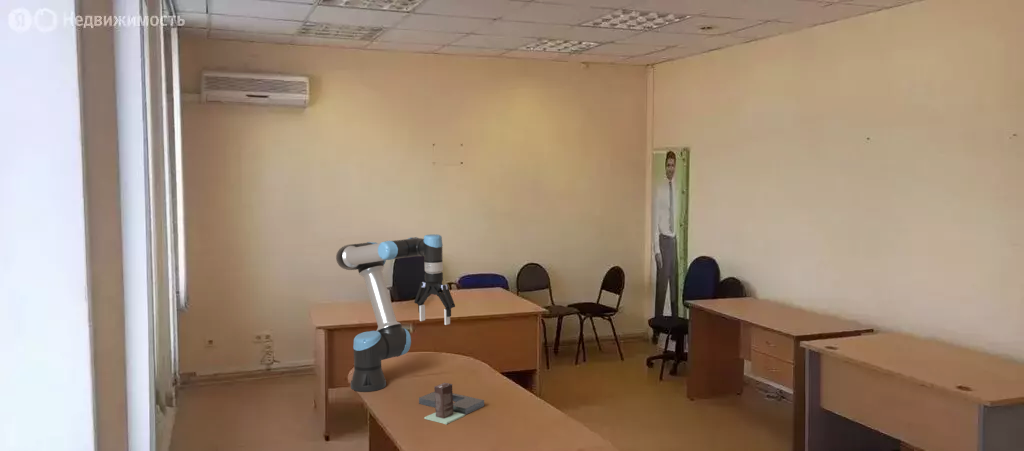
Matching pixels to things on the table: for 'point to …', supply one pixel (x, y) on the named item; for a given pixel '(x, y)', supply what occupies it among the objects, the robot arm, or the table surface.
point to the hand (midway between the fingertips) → (434, 322)
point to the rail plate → (460, 406)
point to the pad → (444, 420)
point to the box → (443, 400)
